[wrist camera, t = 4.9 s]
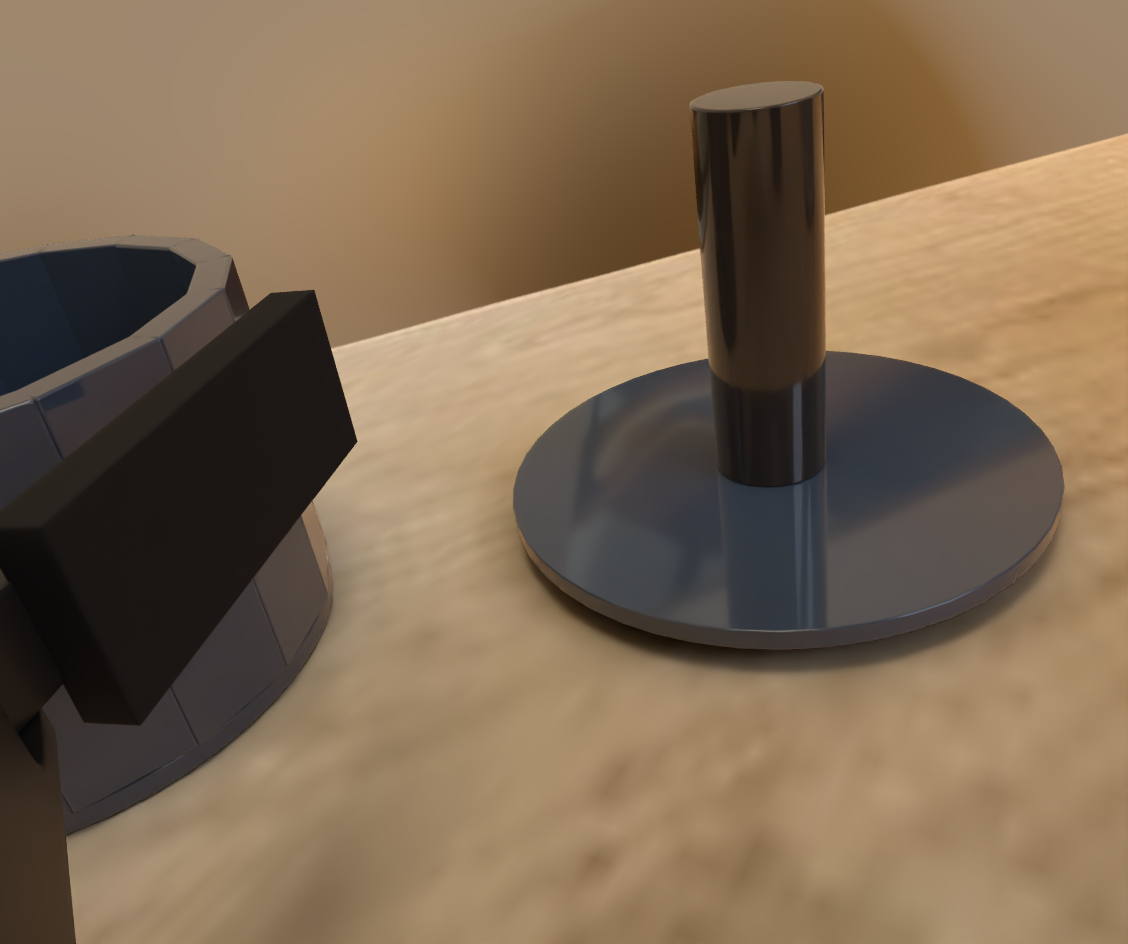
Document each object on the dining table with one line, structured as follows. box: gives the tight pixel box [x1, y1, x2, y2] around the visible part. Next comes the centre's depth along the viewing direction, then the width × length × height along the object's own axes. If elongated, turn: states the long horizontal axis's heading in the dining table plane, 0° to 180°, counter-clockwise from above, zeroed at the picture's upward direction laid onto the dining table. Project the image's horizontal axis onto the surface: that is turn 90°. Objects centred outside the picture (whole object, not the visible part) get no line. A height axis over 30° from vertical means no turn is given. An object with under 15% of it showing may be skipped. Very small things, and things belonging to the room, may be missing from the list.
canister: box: [0, 235, 333, 835], centre depth 22 cm, size 13×13×8 cm
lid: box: [513, 81, 1064, 650], centre depth 23 cm, size 14×14×10 cm
